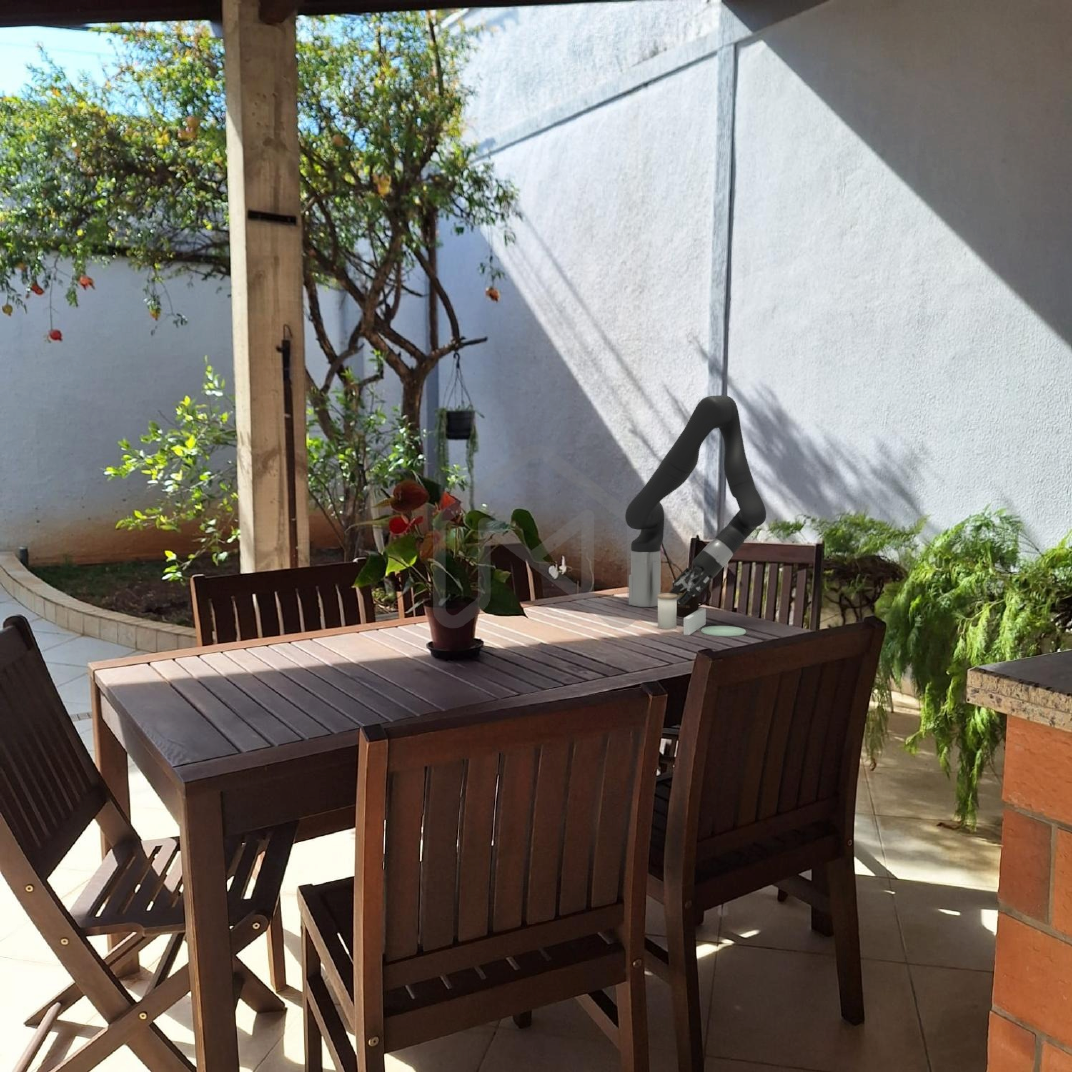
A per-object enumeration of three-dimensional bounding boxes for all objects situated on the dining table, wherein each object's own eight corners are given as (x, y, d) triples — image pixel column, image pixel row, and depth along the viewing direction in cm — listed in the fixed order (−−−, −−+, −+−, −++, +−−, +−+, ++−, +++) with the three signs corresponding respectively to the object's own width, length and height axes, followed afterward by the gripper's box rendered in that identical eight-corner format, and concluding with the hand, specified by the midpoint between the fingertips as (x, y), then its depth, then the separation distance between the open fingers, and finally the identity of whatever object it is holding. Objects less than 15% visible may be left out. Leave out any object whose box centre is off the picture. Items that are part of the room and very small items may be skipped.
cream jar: (654, 628, 269) (654, 595, 268) (660, 624, 274) (661, 592, 273) (673, 629, 266) (673, 596, 265) (679, 626, 271) (679, 593, 270)
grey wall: (683, 634, 260) (683, 618, 259) (700, 623, 274) (700, 608, 274) (688, 635, 259) (689, 618, 259) (705, 624, 273) (705, 608, 273)
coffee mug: (666, 613, 289) (666, 580, 288) (690, 611, 293) (690, 578, 292) (688, 620, 279) (688, 586, 278) (713, 618, 282) (713, 584, 281)
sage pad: (695, 634, 260) (695, 632, 260) (707, 625, 271) (707, 624, 271) (739, 638, 255) (739, 636, 255) (750, 629, 266) (750, 627, 266)
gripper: (694, 546, 277) (656, 588, 276) (714, 552, 263) (674, 596, 262) (711, 564, 279) (673, 605, 277) (732, 570, 265) (692, 614, 264)
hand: (674, 600), depth 270 cm, fingers open, 8 cm apart
